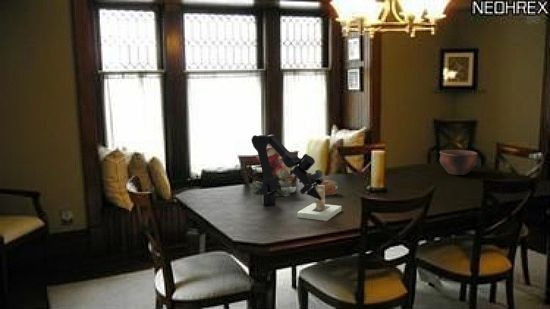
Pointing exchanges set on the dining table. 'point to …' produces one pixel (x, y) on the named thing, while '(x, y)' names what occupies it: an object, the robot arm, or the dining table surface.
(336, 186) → the tin
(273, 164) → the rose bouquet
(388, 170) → the dining table surface
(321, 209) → the peg
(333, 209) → the keyhole plate
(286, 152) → the robot arm
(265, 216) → the dining table surface
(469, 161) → the bowl
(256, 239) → the dining table surface
